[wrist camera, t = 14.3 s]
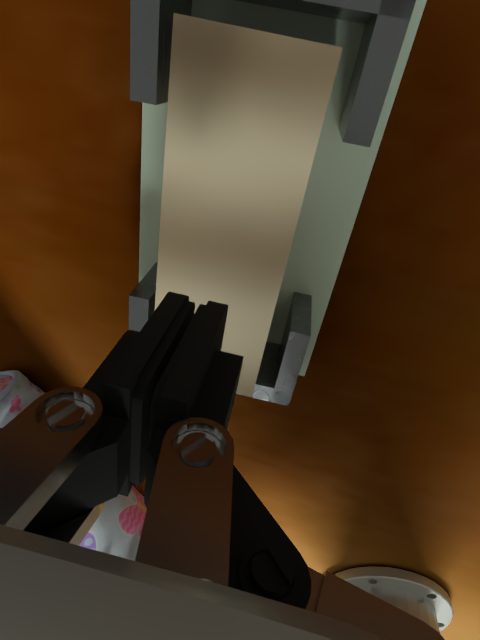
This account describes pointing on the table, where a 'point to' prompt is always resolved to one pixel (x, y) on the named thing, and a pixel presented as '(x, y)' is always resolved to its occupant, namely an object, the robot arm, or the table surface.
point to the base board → (327, 169)
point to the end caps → (355, 128)
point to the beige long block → (238, 170)
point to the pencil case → (118, 513)
